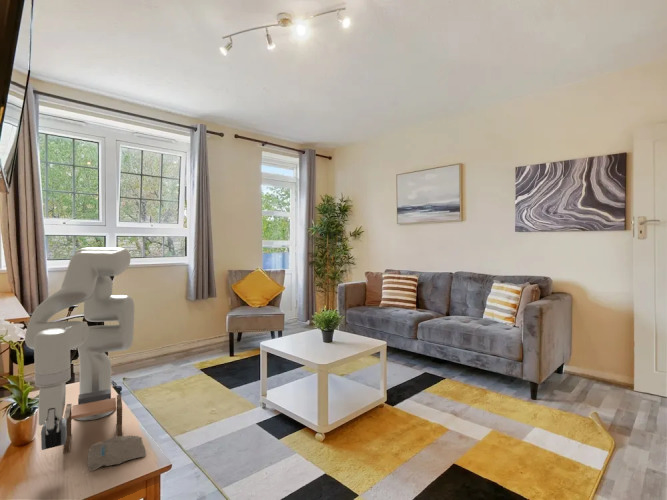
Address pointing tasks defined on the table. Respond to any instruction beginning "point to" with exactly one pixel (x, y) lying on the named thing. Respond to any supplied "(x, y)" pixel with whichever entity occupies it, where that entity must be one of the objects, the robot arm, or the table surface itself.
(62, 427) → the slate block
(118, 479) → the table surface
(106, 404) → the trapdoor
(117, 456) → the concrete fragment
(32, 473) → the table surface
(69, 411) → the frame
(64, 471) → the table surface
